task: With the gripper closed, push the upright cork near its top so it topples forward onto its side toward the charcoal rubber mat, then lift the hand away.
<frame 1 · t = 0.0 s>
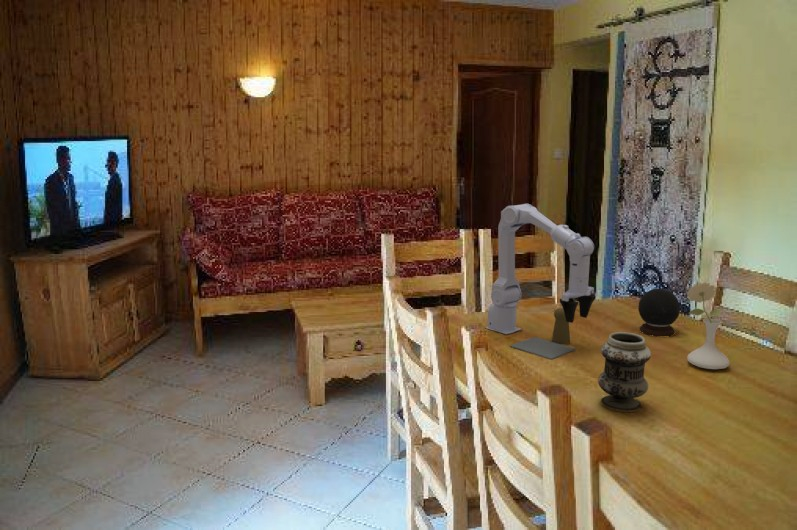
hand: (576, 319, 204), 10 cm above the table, tool pointing down, fingers open, 7 cm apart
apothecary jar: (621, 405, 166), on the table
topple mat: (542, 348, 208), on the table
flower in vase: (704, 366, 193), on the table
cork: (560, 342, 214), on the table
black ball on stand: (656, 332, 224), on the table
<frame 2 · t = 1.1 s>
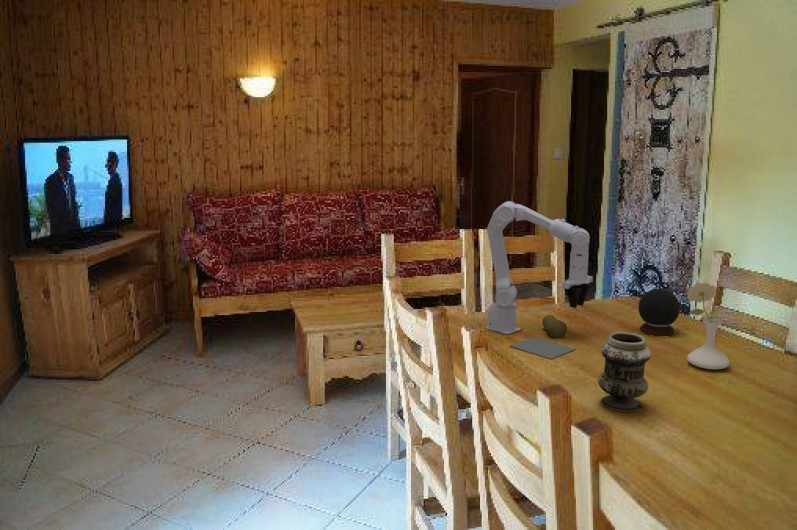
hand: (576, 306, 217), 10 cm above the table, tool pointing down, fingers open, 3 cm apart
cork: (558, 329, 216), point 3 cm above the table
everything else where it was.
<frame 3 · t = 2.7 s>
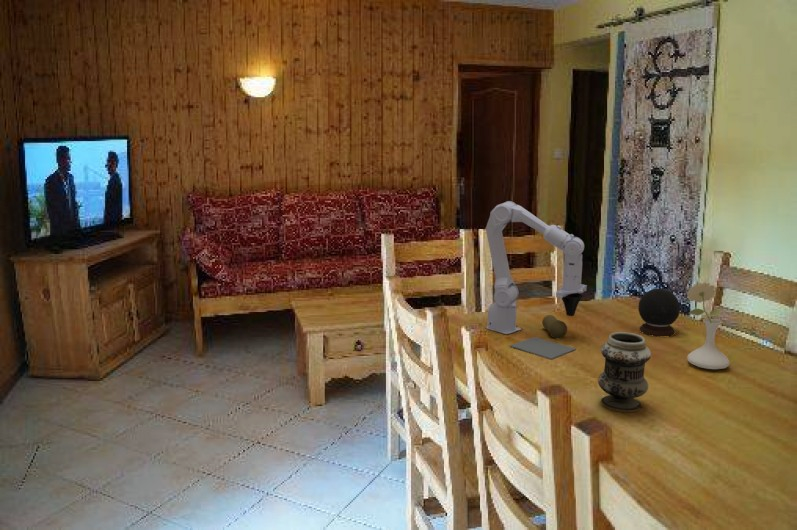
hand: (570, 315, 215), 8 cm above the table, tool pointing down, fingers closed
nothing on the table moved.
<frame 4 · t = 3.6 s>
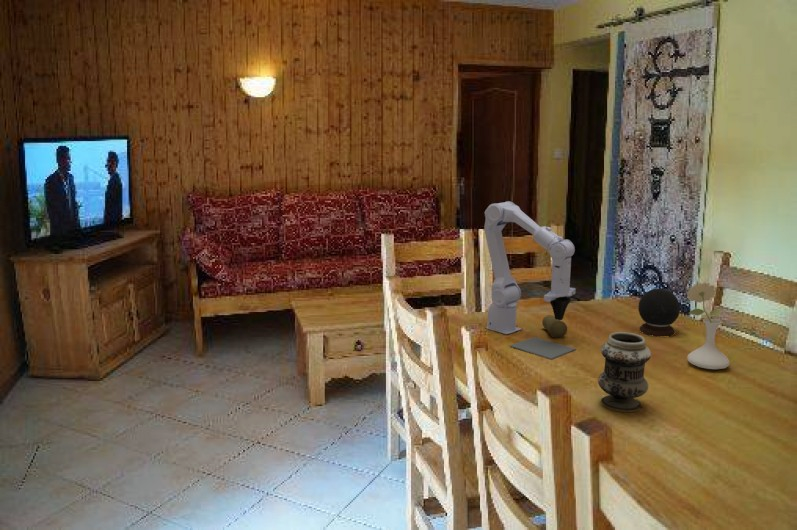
hand: (558, 319, 211), 8 cm above the table, tool pointing down, fingers closed
nothing on the table moved.
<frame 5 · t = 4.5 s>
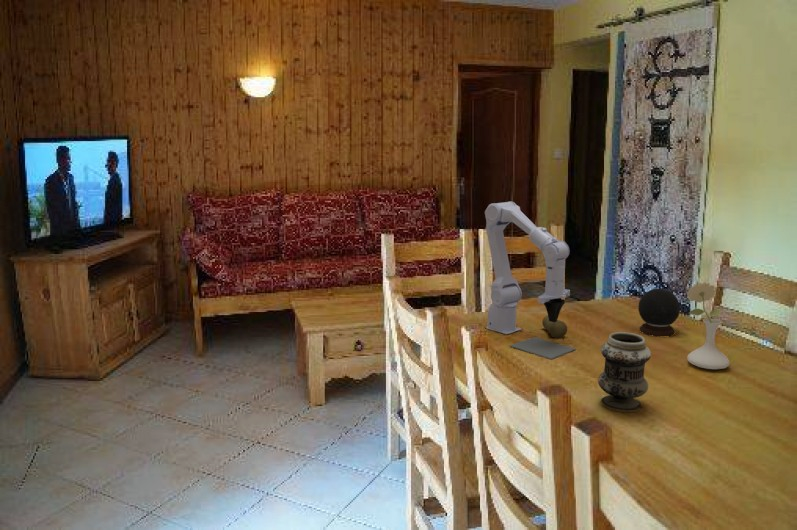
hand: (552, 321, 209), 8 cm above the table, tool pointing down, fingers closed
nothing on the table moved.
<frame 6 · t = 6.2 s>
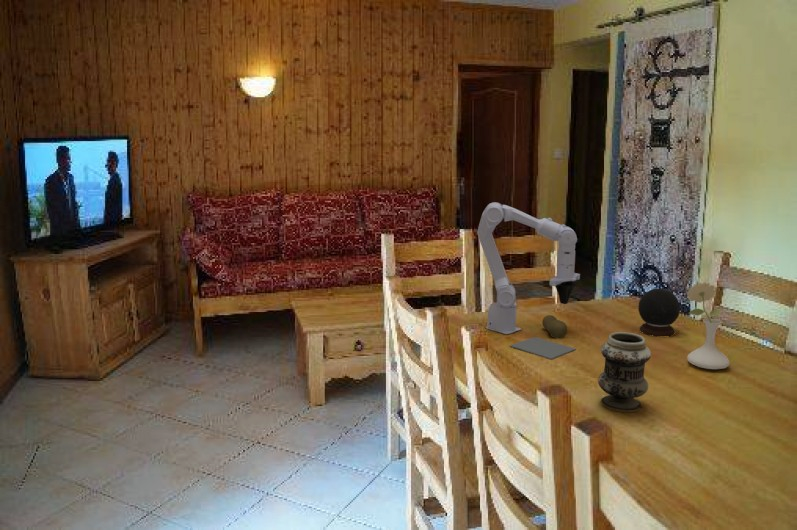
hand: (563, 303, 221), 10 cm above the table, tool pointing down, fingers closed
nothing on the table moved.
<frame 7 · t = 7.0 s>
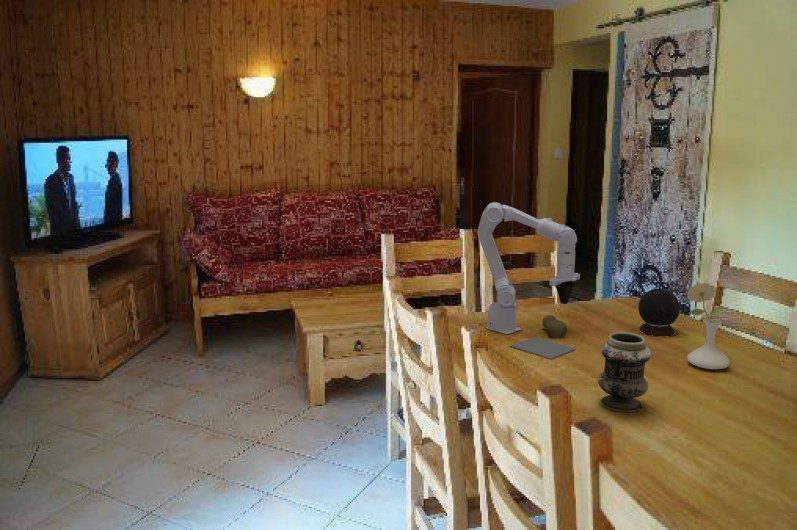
hand: (563, 303, 221), 10 cm above the table, tool pointing down, fingers closed
nothing on the table moved.
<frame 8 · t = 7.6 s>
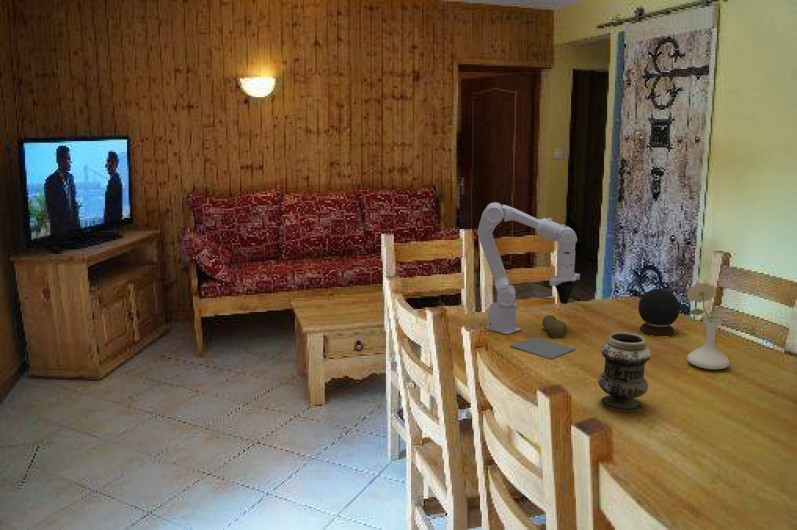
hand: (563, 303, 221), 10 cm above the table, tool pointing down, fingers closed
nothing on the table moved.
at the end: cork tilted 93°; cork inside the target area (3.3 cm from its centre), point 3.0 cm above the table; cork moved 4.2 cm from its start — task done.
